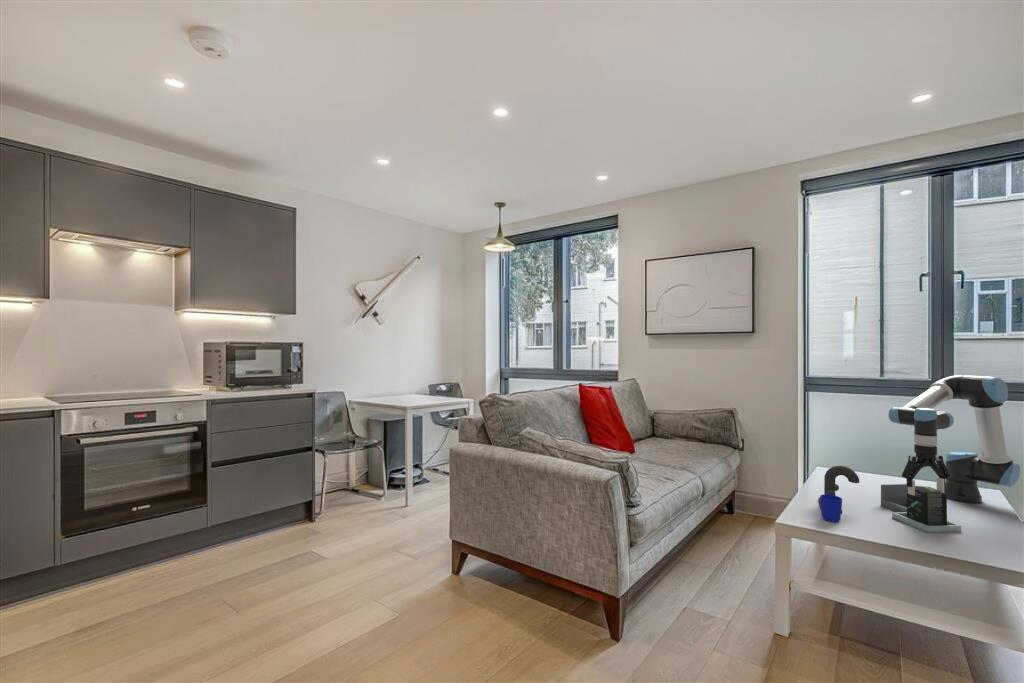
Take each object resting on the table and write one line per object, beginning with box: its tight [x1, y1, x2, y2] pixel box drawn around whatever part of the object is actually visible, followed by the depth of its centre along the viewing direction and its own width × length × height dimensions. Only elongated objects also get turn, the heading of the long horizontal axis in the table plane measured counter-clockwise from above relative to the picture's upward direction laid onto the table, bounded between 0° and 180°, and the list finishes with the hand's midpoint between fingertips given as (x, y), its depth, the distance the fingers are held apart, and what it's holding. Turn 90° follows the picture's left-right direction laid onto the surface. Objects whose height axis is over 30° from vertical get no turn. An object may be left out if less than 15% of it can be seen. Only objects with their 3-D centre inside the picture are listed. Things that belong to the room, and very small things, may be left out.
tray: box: [891, 511, 962, 534], centre depth 209 cm, size 15×17×2 cm
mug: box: [819, 494, 843, 523], centre depth 216 cm, size 8×12×10 cm
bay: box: [880, 483, 907, 512], centre depth 227 cm, size 14×15×10 cm
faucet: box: [818, 465, 860, 514], centre depth 230 cm, size 18×16×20 cm
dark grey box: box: [906, 485, 948, 526], centre depth 209 cm, size 11×9×15 cm
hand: (925, 493), depth 209 cm, fingers open, 13 cm apart
